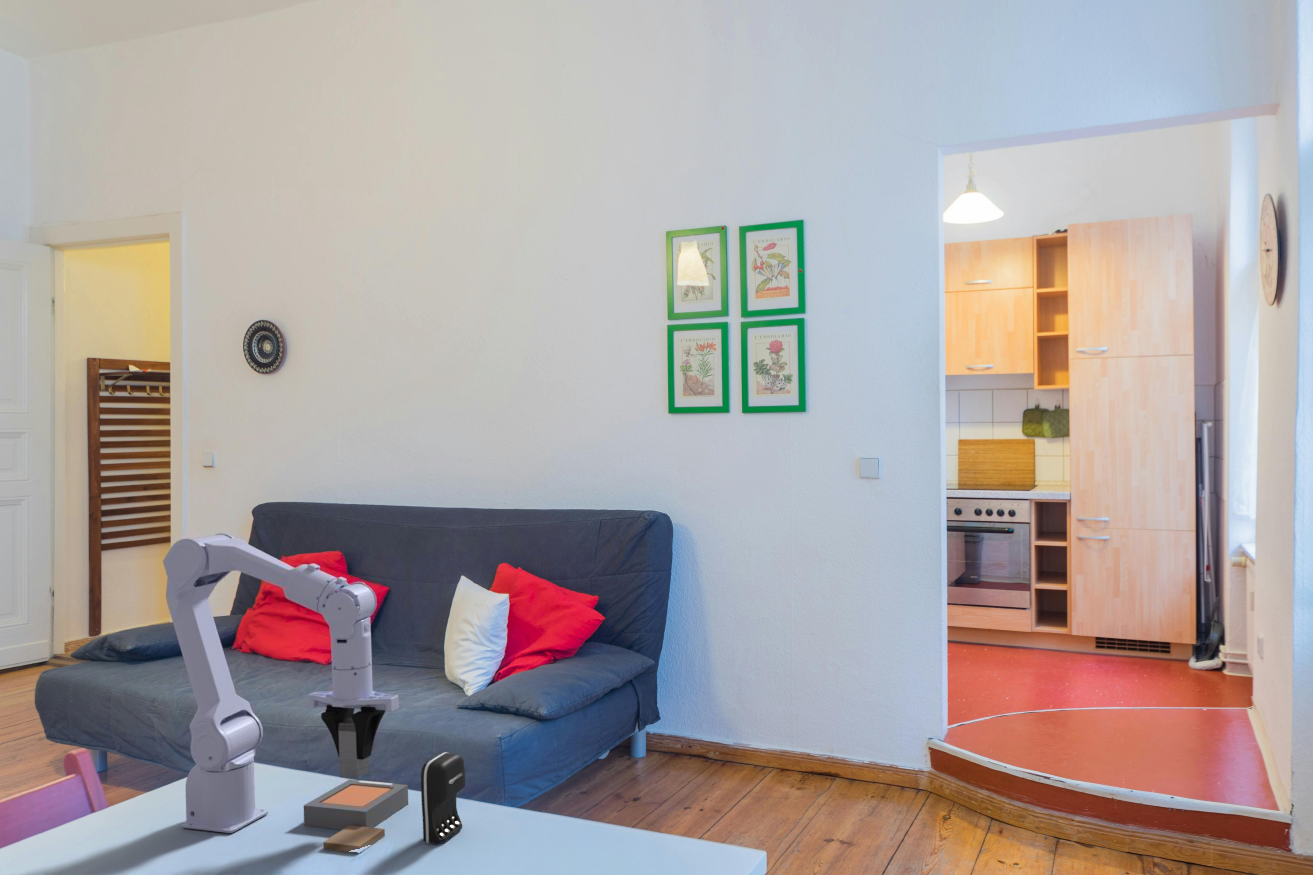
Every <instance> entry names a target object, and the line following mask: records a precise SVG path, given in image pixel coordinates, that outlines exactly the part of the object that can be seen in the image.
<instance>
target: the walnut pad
mask: <svg viewBox="0 0 1313 875" xmlns="http://www.w3.org/2000/svg"><path fill="white" fill-rule="evenodd" d="M385 831H386V830H385V828H380V827H379V828H378V827H373V828H371V827H362V826H353V825H349V826H348V827H346V828H344V829H343V830H342V829H340V831H338V832H336V833H335V834H333V835H332V836H330V837H329V838H328V839H326V840H324V841H323V842H322V846H323V847H322V848H323V850H328V851H335V852H343V853H344V852H345V853H350V852H349V851H351V850H355V849H360V848H362V847H365V846H368V845H371V846H372V845H373V844H375V843H377V842H378V841H380V840H381V839H383V838H384V837H385V836H386V835H385V834H386V833H385Z"/></svg>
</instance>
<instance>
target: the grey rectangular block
mask: <svg viewBox="0 0 1313 875" xmlns="http://www.w3.org/2000/svg"><path fill="white" fill-rule="evenodd" d="M338 731H339V756H338V758H339V759H338V760H339V777H340V778H345V779H359V778H361V777H363V776H364V775H366V774H367V773H370V756H369V757H367V758H365V759H363V760H362V759H359V755H358V745H357V734H356V729H355V726H354V722H353V720H352V718H348V719H346V720H344V721H342V722H340V723H338Z"/></svg>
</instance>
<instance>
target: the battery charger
mask: <svg viewBox="0 0 1313 875" xmlns="http://www.w3.org/2000/svg"><path fill="white" fill-rule="evenodd" d="M464 760H465V759H464V758H463V756H462V755H460V754H457V753H453V752H452V753H450V752H447V751H445V752H441V753H439V754H437V755H435V756H434V757H432V758H429V759H428V760H427V761H425V763H424V764H423V766H422V768H421V773H420V790H421V791H420V792H421V793H420V794H421V796H420V798H421V813H422V837H423V838H422V841H423V842H424V843H426V844H435V845H436V844H444V843H445V842H447V841H448V840H449V839H451V838H452V837H454V836H455V835H457V833H459V832H460V831H461V830H462V829H463V823H462V821H461V818H460V816H459V814H458V813H459V812H458V809H457V793H460V791H461V790H463V789H464V788H466V770H465V769H466V768H465V761H464Z"/></svg>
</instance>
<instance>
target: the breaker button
mask: <svg viewBox="0 0 1313 875" xmlns="http://www.w3.org/2000/svg"><path fill="white" fill-rule="evenodd" d="M390 790H391V789H388V788H377V787H366V786H356V785H351V786H349V787H347V788H346V789H344V790H342V791H341V792H339V793H337V794H335V795H334V796H332V797H330V798H328V799H327V800H325V801H323V802H321V803H329V804H339V805H348V806H358V807H364V806H366V805H367V804H369V803H370V802H372V801H374V800H375V799H377V798H378V797H380V796H382V795H383V794H385V793H386V792H388V791H390Z"/></svg>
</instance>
